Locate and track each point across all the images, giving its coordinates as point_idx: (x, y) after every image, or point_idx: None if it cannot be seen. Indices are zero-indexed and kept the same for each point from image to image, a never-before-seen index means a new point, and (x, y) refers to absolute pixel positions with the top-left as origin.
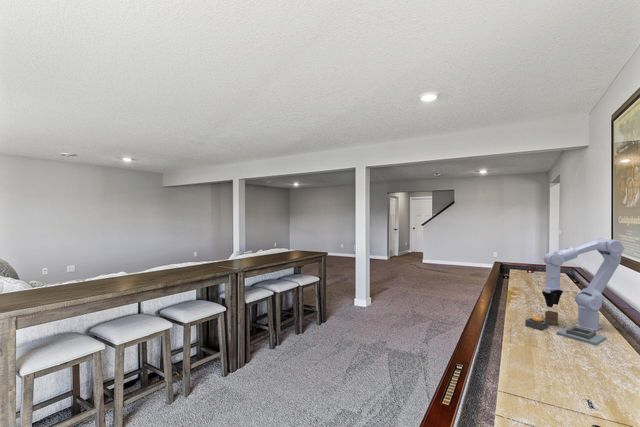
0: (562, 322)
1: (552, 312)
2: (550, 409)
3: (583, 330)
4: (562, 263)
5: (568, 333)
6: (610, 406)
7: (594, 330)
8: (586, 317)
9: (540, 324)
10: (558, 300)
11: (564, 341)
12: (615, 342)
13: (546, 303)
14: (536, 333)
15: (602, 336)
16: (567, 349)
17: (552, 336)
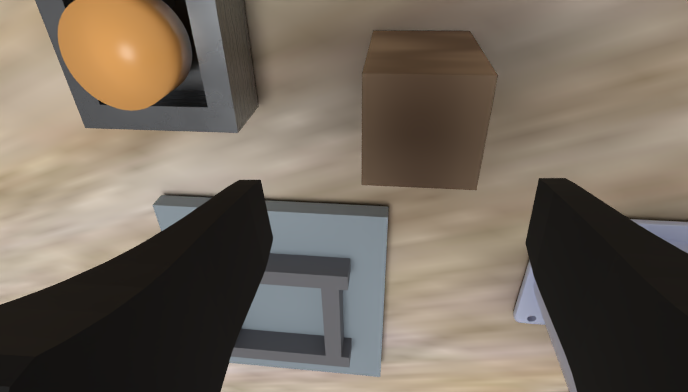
0: (612, 115)
1: (408, 149)
2: None
3: (324, 319)
4: None
5: None
6: None
7: (514, 317)
8: (562, 357)
9: (86, 111)
10: (553, 319)
11: (98, 252)
12: (369, 385)
13: (208, 204)
14: (25, 99)
15: (361, 366)
16: (5, 286)
17: (101, 188)
